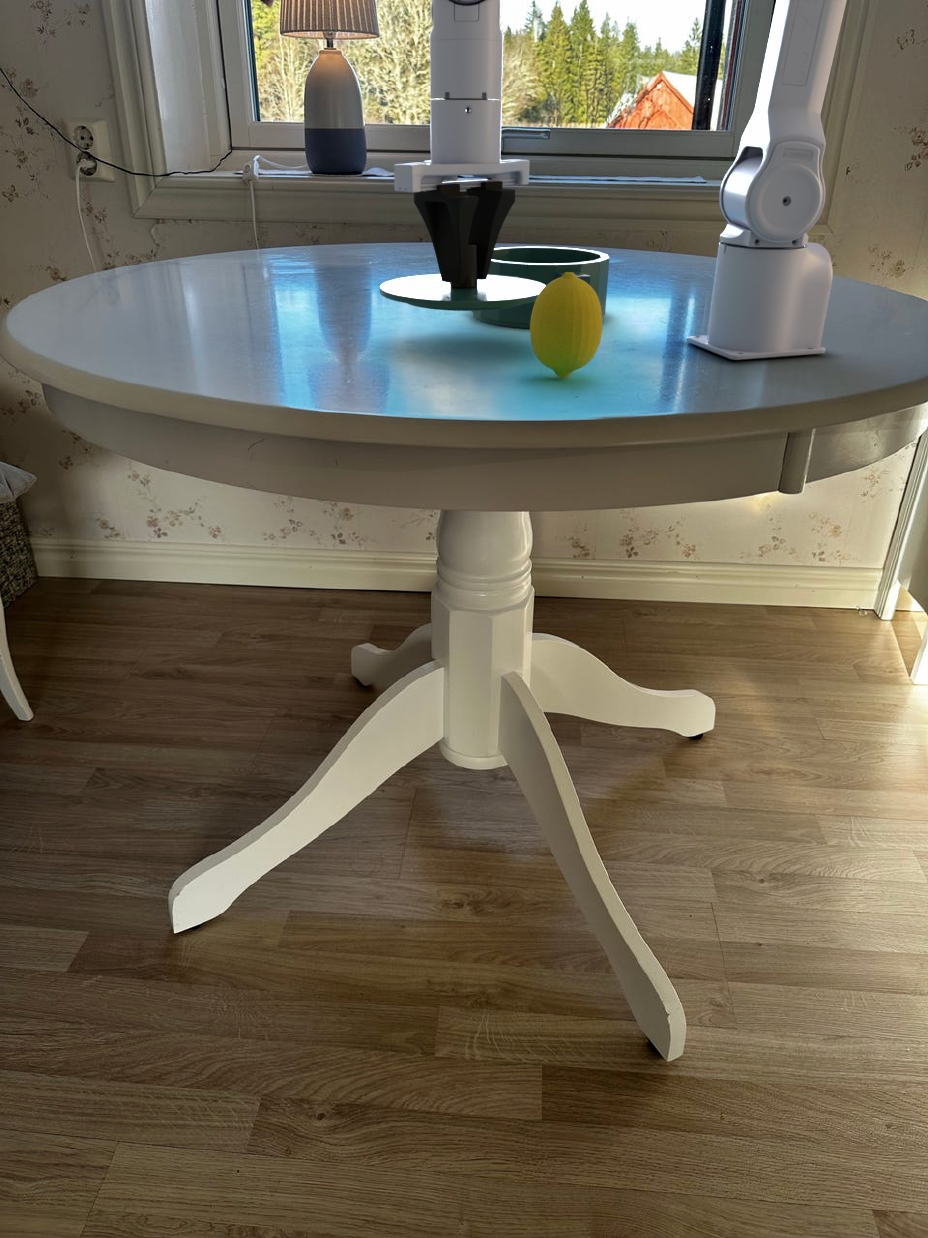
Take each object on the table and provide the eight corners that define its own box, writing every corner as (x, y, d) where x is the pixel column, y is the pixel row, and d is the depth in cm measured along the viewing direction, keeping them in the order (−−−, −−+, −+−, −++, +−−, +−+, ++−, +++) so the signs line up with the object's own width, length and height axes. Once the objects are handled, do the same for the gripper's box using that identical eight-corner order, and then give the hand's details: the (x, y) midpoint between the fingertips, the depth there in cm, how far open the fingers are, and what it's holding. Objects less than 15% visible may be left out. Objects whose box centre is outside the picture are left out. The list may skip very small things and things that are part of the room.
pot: (562, 297, 106) (565, 241, 103) (639, 329, 90) (645, 265, 87) (448, 302, 102) (448, 245, 99) (508, 337, 86) (510, 271, 83)
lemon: (542, 389, 70) (547, 278, 66) (518, 372, 75) (522, 267, 71) (609, 385, 71) (618, 276, 67) (582, 368, 76) (589, 265, 72)
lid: (512, 283, 89) (514, 231, 87) (574, 310, 77) (578, 251, 74) (363, 289, 85) (361, 235, 82) (404, 319, 73) (402, 257, 70)
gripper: (487, 101, 80) (484, 266, 87) (364, 98, 71) (371, 284, 77) (551, 101, 76) (543, 274, 83) (430, 98, 67) (432, 294, 73)
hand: (464, 280), depth 80 cm, fingers closed on lid, 2 cm apart
